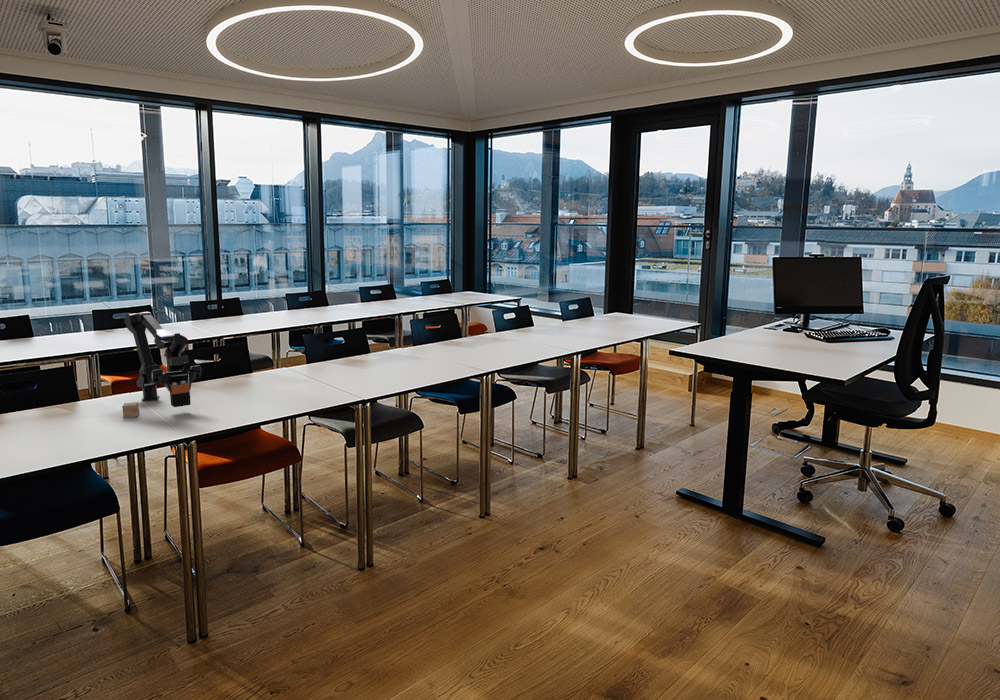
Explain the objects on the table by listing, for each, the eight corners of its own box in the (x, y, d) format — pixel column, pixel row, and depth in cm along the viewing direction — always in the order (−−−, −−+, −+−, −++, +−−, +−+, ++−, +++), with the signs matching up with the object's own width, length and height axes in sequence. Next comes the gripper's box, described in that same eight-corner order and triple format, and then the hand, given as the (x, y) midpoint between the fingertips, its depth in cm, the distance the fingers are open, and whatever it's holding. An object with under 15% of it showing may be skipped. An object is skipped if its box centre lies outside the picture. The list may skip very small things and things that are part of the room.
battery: (191, 405, 284) (189, 381, 282) (173, 407, 279) (171, 384, 278) (187, 402, 287) (186, 379, 285) (170, 405, 283) (168, 382, 281)
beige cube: (125, 414, 280) (124, 403, 279) (139, 413, 282) (138, 402, 281) (123, 417, 276) (122, 406, 275) (137, 416, 277) (136, 405, 276)
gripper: (150, 350, 277) (156, 382, 270) (199, 346, 287) (206, 377, 280) (149, 366, 285) (155, 397, 278) (197, 361, 295) (203, 391, 288)
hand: (180, 390), depth 281 cm, fingers closed on battery, 7 cm apart
